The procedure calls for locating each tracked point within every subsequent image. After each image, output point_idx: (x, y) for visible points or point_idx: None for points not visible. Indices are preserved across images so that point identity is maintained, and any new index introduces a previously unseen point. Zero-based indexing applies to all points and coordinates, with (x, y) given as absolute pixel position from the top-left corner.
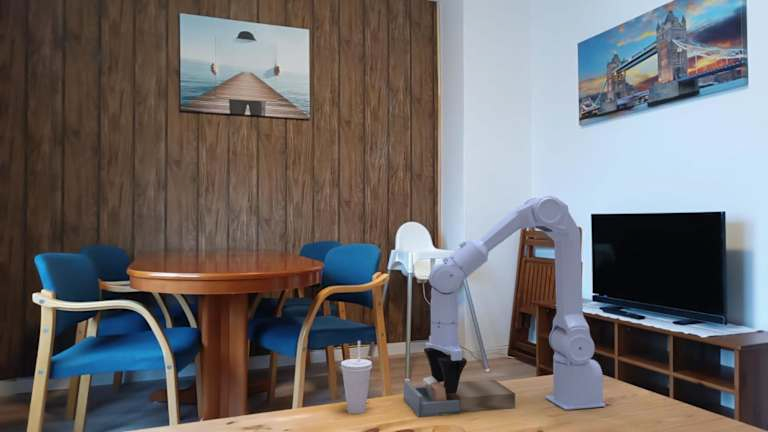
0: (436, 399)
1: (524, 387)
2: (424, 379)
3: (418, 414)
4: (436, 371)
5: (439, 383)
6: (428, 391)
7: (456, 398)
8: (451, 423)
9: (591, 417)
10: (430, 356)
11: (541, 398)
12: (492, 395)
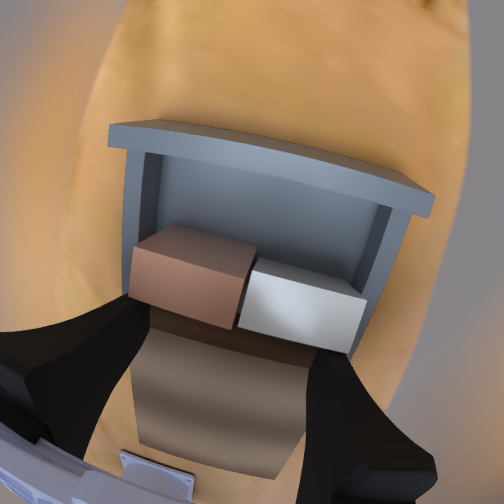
0: (161, 234)
1: (279, 490)
2: (350, 301)
3: (158, 120)
4: (322, 388)
5: (205, 317)
6: (315, 277)
7: (172, 322)
8: (77, 205)
9: (90, 444)
10: (344, 446)
11: (198, 472)
12: (135, 404)
